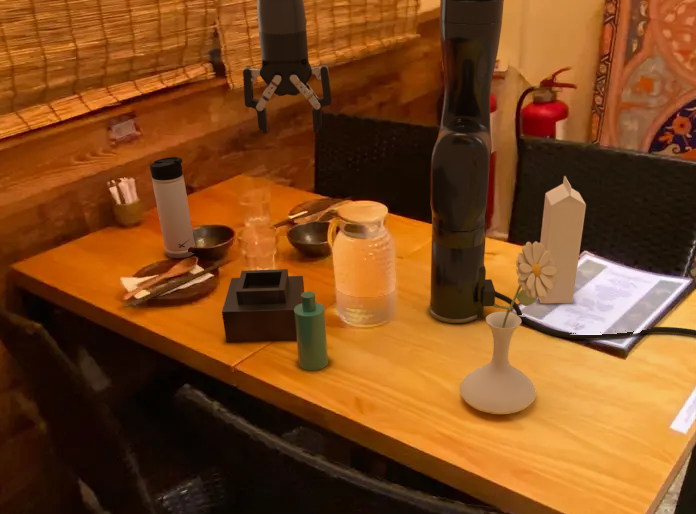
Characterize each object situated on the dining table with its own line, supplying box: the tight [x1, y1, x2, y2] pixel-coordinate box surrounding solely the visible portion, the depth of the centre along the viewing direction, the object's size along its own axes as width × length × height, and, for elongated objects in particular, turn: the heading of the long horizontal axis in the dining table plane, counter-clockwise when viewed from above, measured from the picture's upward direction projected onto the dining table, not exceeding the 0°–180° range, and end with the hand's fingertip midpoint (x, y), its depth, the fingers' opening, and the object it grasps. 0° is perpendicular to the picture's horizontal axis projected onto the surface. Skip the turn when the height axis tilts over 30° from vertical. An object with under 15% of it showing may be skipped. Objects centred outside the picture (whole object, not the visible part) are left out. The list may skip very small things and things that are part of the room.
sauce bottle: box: [294, 291, 329, 371], centre depth 125 cm, size 5×5×12 cm
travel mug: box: [149, 156, 196, 259], centre depth 160 cm, size 6×7×20 cm
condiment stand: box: [221, 268, 305, 343], centre depth 137 cm, size 13×13×8 cm
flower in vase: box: [459, 241, 557, 415], centre depth 112 cm, size 13×11×25 cm
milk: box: [537, 175, 587, 304], centre depth 140 cm, size 6×6×22 cm
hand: (291, 131), depth 132 cm, fingers open, 8 cm apart
